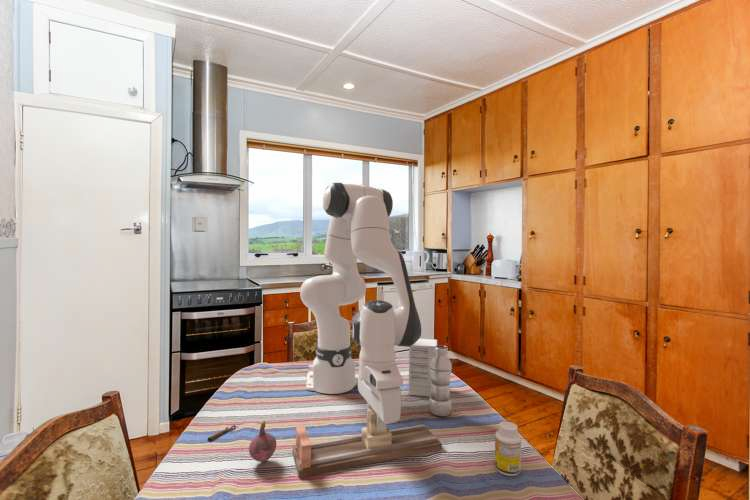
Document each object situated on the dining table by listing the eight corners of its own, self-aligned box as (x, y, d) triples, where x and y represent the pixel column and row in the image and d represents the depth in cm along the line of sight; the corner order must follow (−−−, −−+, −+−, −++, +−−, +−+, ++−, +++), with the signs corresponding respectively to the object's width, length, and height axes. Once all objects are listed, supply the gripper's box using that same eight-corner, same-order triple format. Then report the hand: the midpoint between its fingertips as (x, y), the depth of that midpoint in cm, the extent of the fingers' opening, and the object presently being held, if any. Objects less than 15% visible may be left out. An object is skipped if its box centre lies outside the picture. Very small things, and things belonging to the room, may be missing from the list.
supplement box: (436, 397, 125) (437, 346, 125) (408, 395, 127) (408, 345, 126) (436, 386, 135) (437, 339, 134) (410, 384, 136) (411, 337, 136)
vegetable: (250, 473, 84) (250, 429, 84) (247, 458, 90) (247, 416, 89) (278, 467, 86) (278, 423, 86) (274, 453, 92) (274, 412, 92)
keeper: (361, 439, 95) (361, 408, 95) (384, 435, 97) (384, 404, 97) (367, 450, 91) (368, 417, 90) (391, 446, 93) (391, 413, 92)
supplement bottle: (500, 459, 91) (501, 417, 90) (524, 469, 87) (525, 424, 87) (490, 470, 86) (491, 425, 86) (515, 480, 83) (516, 434, 82)
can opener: (209, 442, 97) (209, 438, 97) (204, 440, 98) (204, 435, 98) (240, 428, 104) (240, 424, 104) (235, 426, 106) (235, 422, 106)
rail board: (292, 452, 92) (292, 426, 92) (423, 430, 104) (423, 406, 104) (298, 477, 83) (298, 448, 83) (441, 449, 95) (442, 423, 94)
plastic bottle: (451, 420, 110) (452, 351, 109) (427, 417, 111) (428, 349, 111) (451, 410, 116) (452, 345, 115) (429, 408, 118) (430, 343, 117)
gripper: (352, 357, 102) (351, 408, 103) (380, 385, 83) (379, 448, 83) (374, 354, 104) (373, 404, 105) (406, 381, 85) (405, 443, 86)
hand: (376, 424), depth 94 cm, fingers closed on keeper, 3 cm apart
